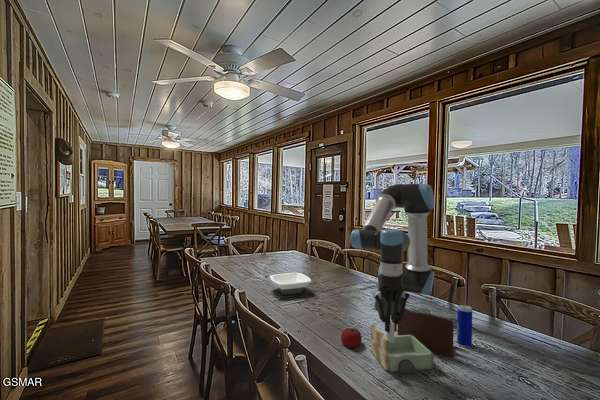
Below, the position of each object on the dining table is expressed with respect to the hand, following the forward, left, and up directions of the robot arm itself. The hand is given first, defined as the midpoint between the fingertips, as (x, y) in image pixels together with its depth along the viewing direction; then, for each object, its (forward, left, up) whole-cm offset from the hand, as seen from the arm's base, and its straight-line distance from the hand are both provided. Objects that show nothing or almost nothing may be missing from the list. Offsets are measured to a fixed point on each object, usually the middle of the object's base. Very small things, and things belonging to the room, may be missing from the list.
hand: (390, 340), depth 105 cm
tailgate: (0, -4, -7) cm, 8 cm away
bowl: (-81, -26, -8) cm, 86 cm away
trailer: (0, +4, -8) cm, 9 cm away
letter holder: (-10, +19, -8) cm, 23 cm away
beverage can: (-8, +35, -8) cm, 37 cm away
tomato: (-13, -10, -8) cm, 18 cm away
